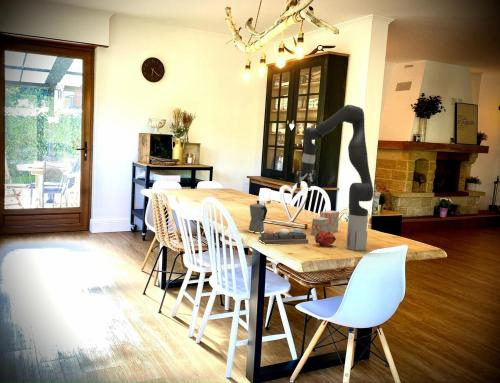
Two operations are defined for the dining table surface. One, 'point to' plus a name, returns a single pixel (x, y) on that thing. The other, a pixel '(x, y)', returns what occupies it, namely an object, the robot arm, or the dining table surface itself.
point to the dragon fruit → (324, 238)
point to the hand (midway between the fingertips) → (303, 187)
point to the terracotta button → (269, 232)
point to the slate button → (297, 231)
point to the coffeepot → (257, 217)
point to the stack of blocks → (325, 222)
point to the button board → (284, 238)
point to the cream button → (283, 231)
